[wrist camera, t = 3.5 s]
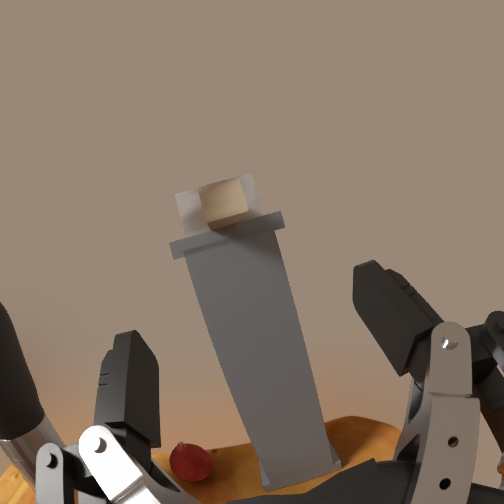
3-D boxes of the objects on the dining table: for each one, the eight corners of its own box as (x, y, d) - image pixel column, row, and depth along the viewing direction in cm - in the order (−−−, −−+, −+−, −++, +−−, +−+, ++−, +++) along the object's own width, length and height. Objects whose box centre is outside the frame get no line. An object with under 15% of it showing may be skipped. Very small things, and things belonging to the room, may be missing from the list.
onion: (178, 491, 27) (153, 456, 27) (187, 466, 33) (165, 431, 32) (217, 491, 27) (194, 455, 26) (222, 465, 33) (203, 428, 32)
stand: (265, 491, 25) (169, 243, 24) (261, 463, 31) (180, 242, 30) (342, 468, 26) (280, 210, 24) (328, 442, 32) (270, 216, 30)
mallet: (169, 233, 16) (153, 169, 16) (191, 239, 29) (181, 202, 29) (285, 201, 17) (266, 139, 16) (256, 220, 30) (245, 185, 30)
